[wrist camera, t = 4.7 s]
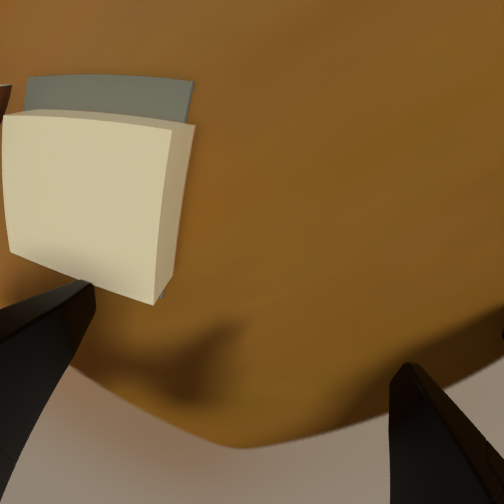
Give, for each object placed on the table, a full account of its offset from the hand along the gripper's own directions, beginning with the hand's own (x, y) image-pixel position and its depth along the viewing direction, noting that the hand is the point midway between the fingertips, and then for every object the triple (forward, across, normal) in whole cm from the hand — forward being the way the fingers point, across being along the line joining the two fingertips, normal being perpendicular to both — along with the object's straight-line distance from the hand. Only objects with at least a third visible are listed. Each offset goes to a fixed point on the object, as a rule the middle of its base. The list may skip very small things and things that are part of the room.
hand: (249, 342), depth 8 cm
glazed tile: (+6, +4, 0) cm, 8 cm away
